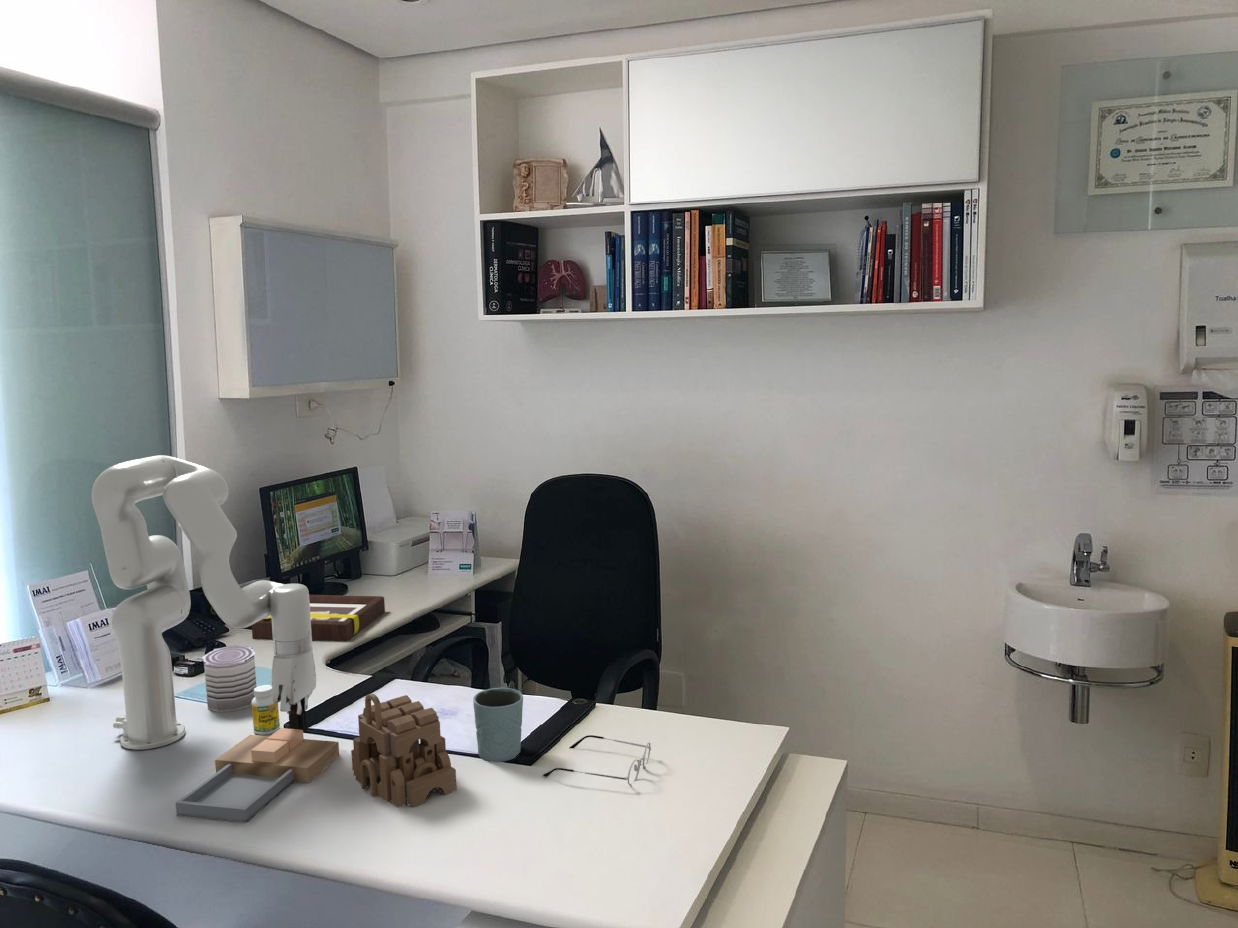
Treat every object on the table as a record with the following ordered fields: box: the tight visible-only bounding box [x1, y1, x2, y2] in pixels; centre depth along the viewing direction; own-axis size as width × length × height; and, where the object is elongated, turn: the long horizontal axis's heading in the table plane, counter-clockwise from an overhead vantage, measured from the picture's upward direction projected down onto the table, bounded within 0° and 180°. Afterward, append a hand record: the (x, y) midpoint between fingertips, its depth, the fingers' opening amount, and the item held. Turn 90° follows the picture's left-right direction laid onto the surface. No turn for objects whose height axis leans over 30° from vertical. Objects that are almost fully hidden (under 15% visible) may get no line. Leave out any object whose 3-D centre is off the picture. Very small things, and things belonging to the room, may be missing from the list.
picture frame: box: [251, 594, 386, 642], centre depth 287 cm, size 28×7×30 cm
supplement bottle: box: [251, 684, 281, 736], centre depth 212 cm, size 5×5×10 cm
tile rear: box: [267, 727, 305, 751], centre depth 198 cm, size 5×5×2 cm
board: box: [214, 734, 340, 784], centre depth 195 cm, size 20×12×3 cm, turn 78°
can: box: [201, 644, 257, 713], centre depth 228 cm, size 11×11×12 cm
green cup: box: [472, 687, 524, 763], centre depth 198 cm, size 10×10×12 cm
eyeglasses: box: [542, 734, 652, 786], centre depth 191 cm, size 16×19×5 cm
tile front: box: [251, 739, 289, 763], centre depth 193 cm, size 5×5×2 cm
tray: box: [174, 764, 296, 824], centre depth 182 cm, size 14×16×2 cm
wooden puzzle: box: [350, 693, 458, 808], centre depth 187 cm, size 22×15×19 cm, turn 43°
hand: (298, 729), depth 203 cm, fingers closed
